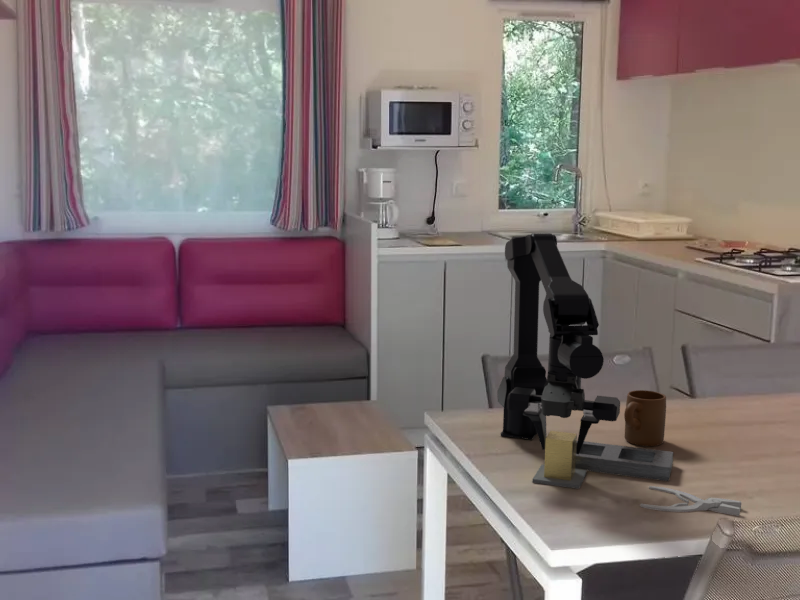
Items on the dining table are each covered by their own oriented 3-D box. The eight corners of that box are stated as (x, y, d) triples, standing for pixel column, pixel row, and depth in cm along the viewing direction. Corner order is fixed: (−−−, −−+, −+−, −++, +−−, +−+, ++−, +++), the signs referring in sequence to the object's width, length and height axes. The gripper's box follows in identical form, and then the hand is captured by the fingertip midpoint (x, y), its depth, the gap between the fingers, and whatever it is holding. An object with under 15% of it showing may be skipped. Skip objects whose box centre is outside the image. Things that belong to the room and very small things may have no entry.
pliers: (650, 480, 162) (743, 494, 156) (649, 489, 162) (742, 503, 156) (640, 499, 153) (738, 515, 147) (639, 509, 153) (737, 525, 147)
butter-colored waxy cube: (543, 477, 164) (545, 438, 163) (549, 468, 169) (550, 430, 167) (570, 480, 163) (572, 441, 162) (575, 472, 167) (576, 433, 166)
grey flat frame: (554, 466, 172) (554, 453, 171) (562, 451, 180) (563, 438, 179) (668, 481, 165) (669, 467, 165) (672, 465, 173) (673, 451, 173)
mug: (643, 455, 178) (646, 407, 177) (606, 446, 183) (609, 399, 182) (670, 440, 188) (673, 394, 186) (634, 432, 192) (637, 387, 191)
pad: (532, 482, 163) (532, 479, 163) (541, 467, 171) (541, 464, 171) (579, 488, 161) (579, 485, 161) (586, 473, 168) (586, 470, 168)
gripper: (500, 369, 158) (497, 459, 161) (614, 380, 152) (609, 473, 154) (515, 355, 168) (512, 439, 171) (622, 365, 162) (617, 452, 165)
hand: (560, 451), depth 165 cm, fingers open, 6 cm apart
